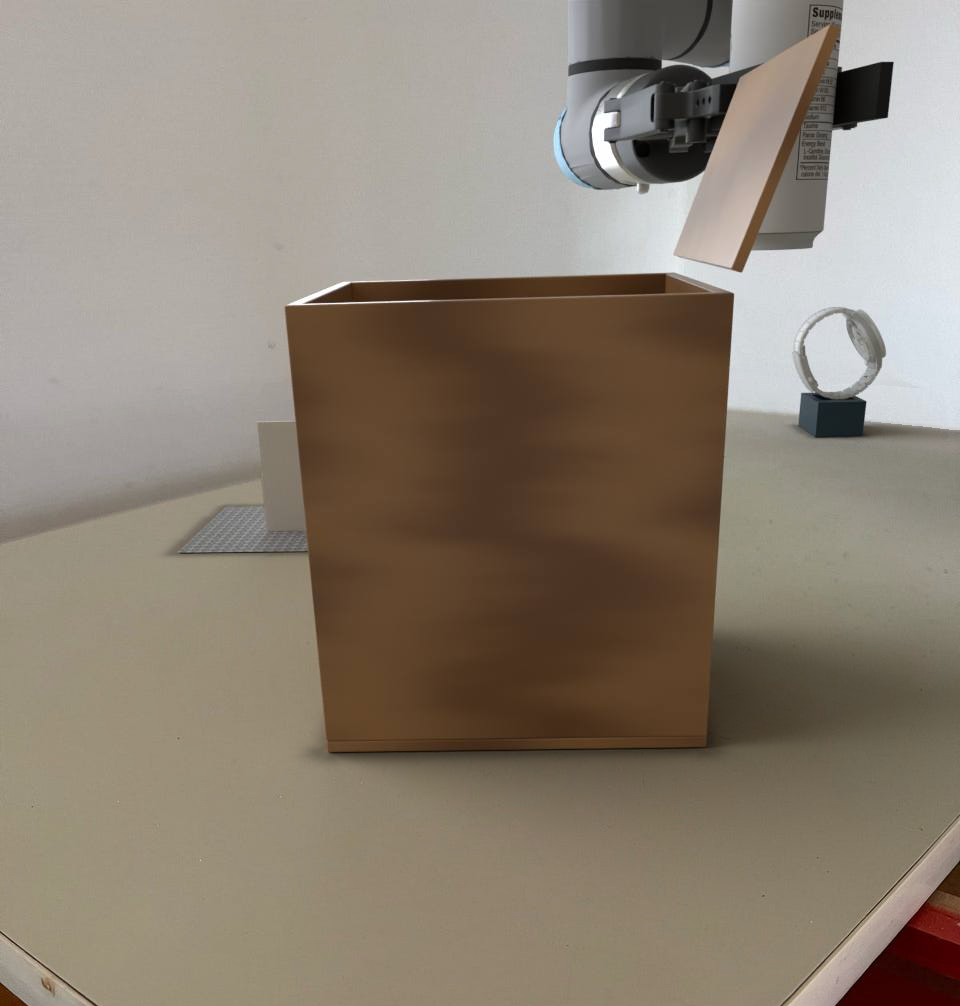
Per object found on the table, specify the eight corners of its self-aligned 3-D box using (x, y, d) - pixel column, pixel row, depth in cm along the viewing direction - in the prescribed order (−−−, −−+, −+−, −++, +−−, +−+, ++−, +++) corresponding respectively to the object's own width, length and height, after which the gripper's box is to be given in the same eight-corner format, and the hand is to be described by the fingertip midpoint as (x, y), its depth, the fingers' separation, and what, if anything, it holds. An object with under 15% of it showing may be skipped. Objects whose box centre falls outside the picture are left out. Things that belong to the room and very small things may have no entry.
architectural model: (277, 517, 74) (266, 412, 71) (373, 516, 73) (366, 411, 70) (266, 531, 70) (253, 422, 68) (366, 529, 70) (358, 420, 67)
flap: (672, 254, 46) (680, 257, 46) (730, 269, 34) (742, 273, 34) (740, 76, 43) (749, 80, 43) (829, 23, 31) (842, 28, 31)
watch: (884, 435, 94) (899, 309, 90) (795, 437, 94) (807, 311, 90) (863, 423, 99) (877, 304, 95) (779, 426, 99) (789, 306, 95)
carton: (660, 625, 52) (675, 272, 46) (706, 747, 40) (734, 292, 34) (368, 630, 53) (341, 281, 46) (327, 752, 41) (284, 305, 34)
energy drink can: (742, 247, 67) (758, -24, 61) (835, 246, 63) (862, -41, 58) (703, 251, 62) (717, -41, 56) (801, 250, 59) (827, -60, 53)
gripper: (773, 180, 79) (973, 163, 58) (536, 187, 75) (660, 171, 54) (780, 70, 76) (994, 10, 55) (535, 71, 72) (665, 7, 52)
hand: (828, 90), depth 55 cm, fingers closed on energy drink can, 6 cm apart
